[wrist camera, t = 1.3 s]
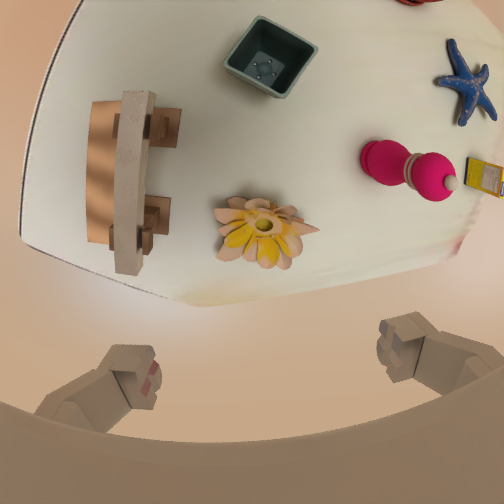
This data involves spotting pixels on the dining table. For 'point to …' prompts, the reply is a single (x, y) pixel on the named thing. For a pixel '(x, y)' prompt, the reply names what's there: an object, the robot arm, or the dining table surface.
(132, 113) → the steel rail
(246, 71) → the flower pot
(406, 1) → the plant pot
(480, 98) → the starfish
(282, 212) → the decorative flower
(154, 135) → the walnut post
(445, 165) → the pepper mill
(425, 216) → the dining table surface
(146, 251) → the walnut post
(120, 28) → the dining table surface
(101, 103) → the light wood flat board
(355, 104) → the dining table surface
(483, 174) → the supplement box
